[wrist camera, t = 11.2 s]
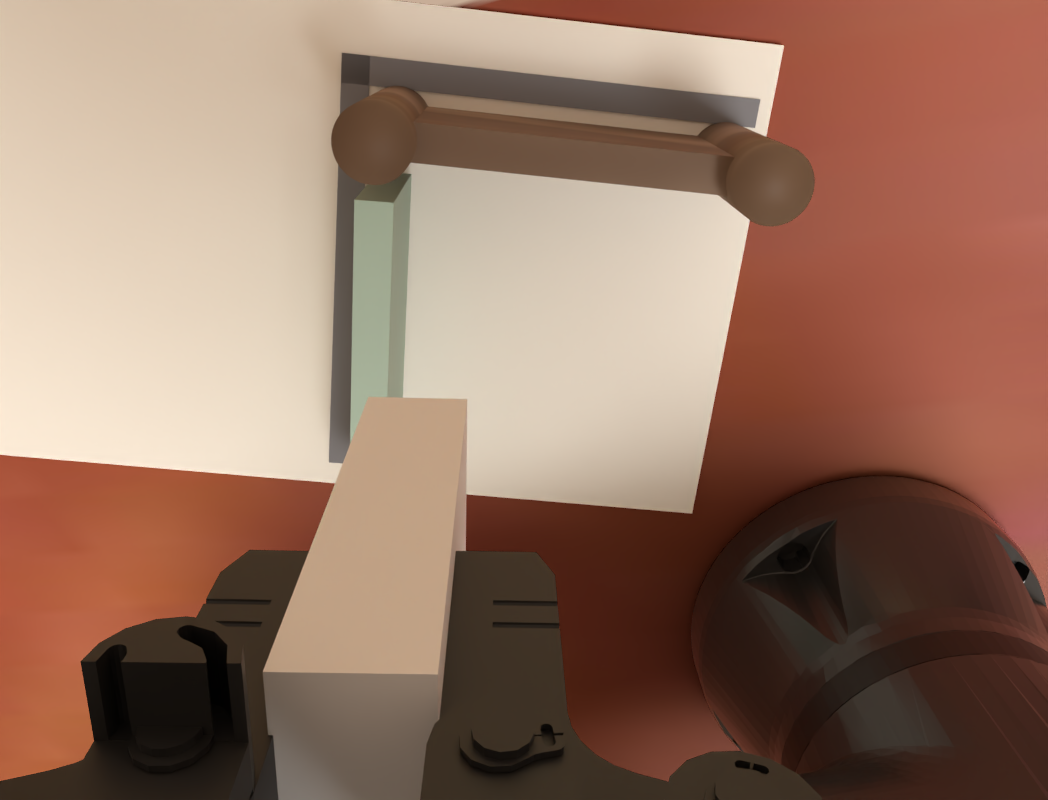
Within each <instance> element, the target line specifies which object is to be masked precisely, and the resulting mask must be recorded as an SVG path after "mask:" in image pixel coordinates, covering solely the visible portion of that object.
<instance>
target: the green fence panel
mask: <svg viewBox="0 0 1048 800" xmlns="http://www.w3.org/2000/svg"><path fill="white" fill-rule="evenodd" d="M411 177H412V174H405V173H402V174H401V175H400V176H399V177H398V178H397V179H395V180H393V181H391V182H389V183H386V184H382V185H368V184H367V185H366V187H365V188H364V189H363V190H362V191H361V192H360V194H359V195H358V196H357V197H356V198H355V199H354V246H353V305H352V363H351V422H350V443H351V441H352V438H353V435H354V433H355V430H356V428H357V425H358V422H359V420H360V417H361V415H362V412H363V409H364V407H365V404H366V402H367V399H368V397H398V398H403V380H404V355H405V329H406V304H407V279H408V253H409V228H410V202H411Z"/></svg>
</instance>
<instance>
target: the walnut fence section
mask: <svg viewBox="0 0 1048 800" xmlns="http://www.w3.org/2000/svg"><path fill="white" fill-rule="evenodd" d="M331 146H332V151H333V155H334V157H335V160H336V162H337V163H338V165H339V166H340V168H341V169H342V170H343V171H344V172H345V173H346V174H347V175H348V176H349V177H351V178H352V179H354V180H356V181H358V182H360V183H363V184H368V185H382V184H386V183H389V182H391V181H393V180H395V179H397V178H398V177H399V176H400V175H401V174H402V173H403V172H404V171H405V170H406V169H407V167H408V166H409V164H410V163H419V164H428V165H438V166H447V167H457V168H466V169H476V170H485V171H495V172H504V173H513V174H523V175H532V176H542V177H551V178H561V179H570V180H580V181H589V182H599V183H608V184H618V185H627V186H637V187H646V188H656V189H665V190H675V191H684V192H694V193H703V194H712V195H718V196H720V197H721V198H722V199H724V200H725V201H726V202H727V203H729V204H730V205H731V206H732V207H734V208H735V209H736V210H737V211H739V212H740V213H741V214H743V215H744V216H745V217H746V218H748V219H749V220H751V221H752V222H754V223H756V224H759V225H763V226H778V225H782V224H785V223H788V222H790V221H792V220H793V219H795V218H796V217H797V216H798V215H800V214H801V213H802V212H803V211H804V209H805V208H806V207H807V205H808V203H809V202H810V200H811V197H812V194H813V191H814V182H815V179H814V173H813V169H812V166H811V164H810V163H809V161H808V159H807V158H806V157H805V156H804V155H803V154H802V153H801V152H799V151H798V150H796V149H794V148H792V147H790V146H787V145H785V144H782V143H780V142H778V141H775V140H773V139H771V138H768V137H766V136H763V135H761V134H759V133H756V132H754V131H752V130H749V129H747V128H744V127H742V126H740V125H737V124H734V123H730V122H720V123H716V124H712V125H710V126H708V127H706V128H705V129H704V130H702V131H701V132H700V133H699V135H698V136H695V135H686V134H676V133H667V132H658V131H649V130H640V129H631V128H622V127H612V126H603V125H594V124H585V123H576V122H567V121H557V120H548V119H539V118H530V117H521V116H512V115H502V114H493V113H484V112H475V111H466V110H457V109H447V108H438V107H429V106H428V105H427V104H426V102H425V100H424V99H423V98H422V97H421V96H420V95H419V94H418V93H417V92H415V91H414V90H411V89H409V88H406V87H403V86H390V87H386V88H384V89H382V90H380V91H378V92H376V93H374V94H372V95H370V96H368V97H366V98H364V99H362V100H360V101H359V102H357V103H355V104H353V105H351V106H349V107H348V108H346V109H345V110H344V111H343V112H342V113H341V114H340V115H339V117H338V118H337V120H336V122H335V124H334V127H333V130H332V135H331Z"/></svg>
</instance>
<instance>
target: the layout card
mask: <svg viewBox="0 0 1048 800" xmlns="http://www.w3.org/2000/svg"><path fill="white" fill-rule="evenodd" d="M783 49H784V45H777V44H768V43H759V42H751V41H742V40H733V39H725V38H716V37H708V36H699V35H690V34H682V33H673V32H664V31H656V30H647V29H638V28H630V27H621V26H612V25H604V24H595V23H586V22H578V21H569V20H560V19H552V18H543V17H534V16H526V15H517V14H509V13H500V12H491V11H483V10H474V9H465V8H457V7H448V6H439V5H431V4H422V3H412V2H405V1H396V0H0V455H9V456H21V457H33V458H45V459H56V460H68V461H80V462H92V463H104V464H115V465H127V466H139V467H151V468H162V469H174V470H186V471H198V472H209V473H221V474H233V475H245V476H256V477H268V478H280V479H292V480H303V481H315V482H327V483H335V482H336V480H337V477H338V475H339V472H340V469H341V467H342V464H343V462H344V459H345V456H346V454H347V451H348V449H349V446H350V422H351V363H352V305H353V246H354V199H355V198H356V197H357V196H358V195H359V194H360V192H361V191H362V190H363V189H364V188H365V187H366V185H367V184H363V183H360V182H358V181H356V180H354V179H352V178H351V177H349V176H348V175H347V174H346V173H345V172H344V171H343V170H342V169H341V168H340V166H339V165H338V163H337V162H336V160H335V157H334V155H333V151H332V146H331V135H332V130H333V127H334V124H335V122H336V120H337V118H338V117H339V115H340V114H341V113H342V112H343V111H344V110H345V109H346V108H348V107H349V106H351V105H353V104H355V103H357V102H359V101H360V100H362V99H364V98H366V97H368V96H370V95H372V94H374V93H376V92H378V91H380V90H382V89H384V88H386V87H390V86H403V87H406V88H409V89H411V90H414V91H415V92H417V93H418V94H419V95H420V96H421V97H422V98H423V99H424V100H425V102H426V104H427V105H428V106H429V107H438V108H447V109H457V110H466V111H475V112H484V113H493V114H502V115H512V116H521V117H530V118H539V119H548V120H557V121H567V122H576V123H585V124H594V125H603V126H612V127H622V128H631V129H640V130H649V131H658V132H667V133H676V134H686V135H695V136H698V135H699V133H700V132H701V131H702V130H704V129H705V128H706V127H708V126H710V125H712V124H716V123H720V122H730V123H734V124H737V125H740V126H742V127H744V128H747V129H749V130H752V131H754V132H756V133H759V134H761V135H763V136H766V135H767V130H768V125H769V120H770V115H771V110H772V105H773V99H774V94H775V89H776V84H777V79H778V74H779V69H780V64H781V59H782V54H783ZM403 173H405V174H412V177H411V202H410V228H409V253H408V279H407V304H406V329H405V355H404V380H403V398H442V399H467V482H466V494H468V495H480V496H491V497H503V498H515V499H527V500H538V501H550V502H562V503H574V504H586V505H597V506H609V507H621V508H633V509H644V510H656V511H668V512H680V513H691V514H692V512H693V506H694V501H695V496H696V491H697V486H698V481H699V476H700V471H701V466H702V461H703V456H704V451H705V445H706V440H707V435H708V430H709V425H710V420H711V415H712V410H713V405H714V400H715V395H716V389H717V384H718V379H719V374H720V369H721V364H722V359H723V354H724V349H725V344H726V339H727V333H728V328H729V323H730V318H731V313H732V308H733V303H734V298H735V293H736V288H737V283H738V278H739V272H740V267H741V262H742V257H743V252H744V247H745V242H746V237H747V232H748V227H749V222H750V220H749V219H748V218H746V217H745V216H744V215H743V214H741V213H740V212H739V211H737V210H736V209H735V208H734V207H732V206H731V205H730V204H729V203H727V202H726V201H725V200H724V199H722V198H721V197H720V196H718V195H712V194H703V193H694V192H684V191H675V190H665V189H656V188H646V187H637V186H627V185H618V184H608V183H599V182H589V181H580V180H570V179H561V178H551V177H542V176H532V175H523V174H513V173H504V172H495V171H485V170H476V169H466V168H457V167H447V166H438V165H428V164H419V163H410V164H409V166H408V167H407V169H406V170H405V171H404V172H403Z"/></svg>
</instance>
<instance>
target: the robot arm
mask: <svg viewBox="0 0 1048 800" xmlns="http://www.w3.org/2000/svg"><path fill="white" fill-rule="evenodd" d="M466 482H467V399H442V398H398V397H368V399H367V402H366V404H365V407H364V409H363V412H362V415H361V417H360V420H359V422H358V425H357V428H356V430H355V433H354V435H353V438H352V441H351V443H350V446H349V449H348V451H347V454H346V456H345V459H344V462H343V464H342V467H341V469H340V472H339V475H338V477H337V480H336V482H335V485H334V488H333V490H332V493H331V495H330V498H329V501H328V503H327V506H326V508H325V511H324V514H323V516H322V519H321V521H320V524H319V527H318V529H317V532H316V534H315V537H314V540H313V542H312V545H311V547H310V550H309V551H275V550H249V551H248V552H246V553H245V554H244V555H243V556H241V557H240V558H239V559H237V560H236V561H235V562H233V563H232V564H231V565H229V566H228V567H227V568H226V569H224V570H223V571H222V572H220V574H219V576H218V578H217V580H216V582H215V584H214V585H213V587H212V589H211V591H210V593H209V595H208V597H207V599H206V604H203V606H202V608H201V610H200V612H199V614H198V615H197V617H196V618H194V617H176V618H165V619H155V620H152V621H149V622H146V623H142V624H139V625H136V626H132V627H129V628H126V629H124V630H122V631H120V632H118V633H117V634H115V635H113V636H111V637H109V638H107V639H106V640H104V641H102V642H100V643H99V644H98V645H97V646H96V647H95V648H94V649H93V650H92V651H91V652H90V653H89V654H88V655H87V656H86V657H85V658H84V659H83V660H82V661H81V666H82V672H83V678H84V684H85V690H86V695H87V701H88V707H89V713H90V719H91V725H92V731H93V737H94V742H93V744H92V746H91V747H90V749H89V751H88V753H87V754H86V756H85V758H84V759H83V760H81V761H79V762H77V763H74V764H70V765H67V766H63V767H60V768H56V769H53V770H49V771H45V772H40V773H36V774H31V775H26V776H22V777H17V778H13V779H8V780H3V781H0V800H1048V609H1047V607H1046V603H1045V598H1044V595H1043V592H1042V589H1041V587H1040V584H1039V581H1038V579H1037V576H1036V574H1035V572H1034V570H1033V568H1032V567H1031V565H1030V563H1029V562H1028V560H1027V558H1026V557H1025V555H1024V554H1023V553H1022V551H1021V550H1020V548H1019V547H1018V546H1017V545H1016V544H1015V543H1014V541H1013V540H1012V539H1011V538H1010V537H1009V536H1008V535H1007V534H1006V533H1005V532H1004V531H1003V530H1002V529H1001V528H1000V527H999V526H998V525H997V524H996V523H995V522H994V521H993V520H992V519H991V518H990V517H989V516H988V515H987V514H986V513H985V512H984V511H983V510H981V509H980V508H979V507H978V506H976V505H975V504H974V503H972V502H971V501H969V500H968V499H966V498H964V497H962V496H961V495H959V494H957V493H955V492H953V491H951V490H949V489H946V488H944V487H941V486H938V485H935V484H932V483H929V482H925V481H921V480H916V479H911V478H904V477H893V476H868V477H857V478H850V479H844V480H839V481H834V482H830V483H827V484H823V485H820V486H817V487H814V488H811V489H808V490H805V491H803V492H801V493H798V494H796V495H794V496H792V497H790V498H788V499H786V500H784V501H782V502H780V503H778V504H776V505H775V506H773V507H771V508H770V509H768V510H767V511H765V512H764V513H762V514H761V515H759V516H758V517H757V518H755V519H754V520H753V521H752V522H750V523H749V524H748V525H747V526H746V527H744V528H743V529H742V530H741V531H740V532H739V533H738V534H737V535H736V536H735V537H734V538H733V539H732V540H731V541H730V542H729V543H728V545H727V546H726V547H725V548H724V549H723V550H722V552H721V553H720V555H719V556H718V557H717V559H716V560H715V562H714V563H713V565H712V566H711V568H710V569H709V571H708V573H707V575H706V577H705V579H704V581H703V583H702V586H701V588H700V590H699V593H698V596H697V599H696V602H695V606H694V610H693V616H692V623H691V647H692V654H693V659H694V663H695V667H696V670H697V673H698V677H699V680H700V683H701V687H702V690H703V693H704V696H705V699H706V701H707V704H708V706H709V708H710V710H711V712H712V714H713V716H714V718H715V720H716V721H717V723H718V724H719V726H720V728H721V729H722V730H723V732H724V733H725V734H726V735H727V737H728V738H729V739H730V740H731V741H732V742H733V743H734V744H735V745H736V746H737V747H738V748H739V749H740V750H741V751H742V752H741V751H728V752H709V753H706V754H704V755H701V756H698V757H695V758H692V759H690V760H687V761H686V762H685V763H684V764H683V765H682V766H681V767H679V768H678V769H677V770H676V771H675V772H674V773H673V774H672V775H671V776H670V779H669V782H667V781H663V780H659V779H656V778H652V777H648V776H644V775H641V774H637V773H634V772H631V771H628V770H626V769H623V768H620V767H617V766H615V765H613V764H611V763H609V762H608V761H606V760H604V759H602V758H601V757H599V756H597V755H596V754H594V753H593V752H592V751H591V750H590V749H589V748H588V747H587V746H586V745H585V744H584V743H582V742H581V740H580V739H579V737H578V736H577V734H576V733H575V731H574V730H573V728H572V727H571V723H570V719H569V716H568V712H567V701H566V690H565V679H564V669H563V658H562V647H561V636H560V629H559V614H558V606H557V592H556V581H555V574H554V573H553V572H552V571H551V570H550V568H549V567H548V566H547V565H546V564H545V562H544V561H543V560H542V559H541V557H540V556H539V555H538V554H537V553H536V552H497V551H466Z"/></svg>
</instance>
